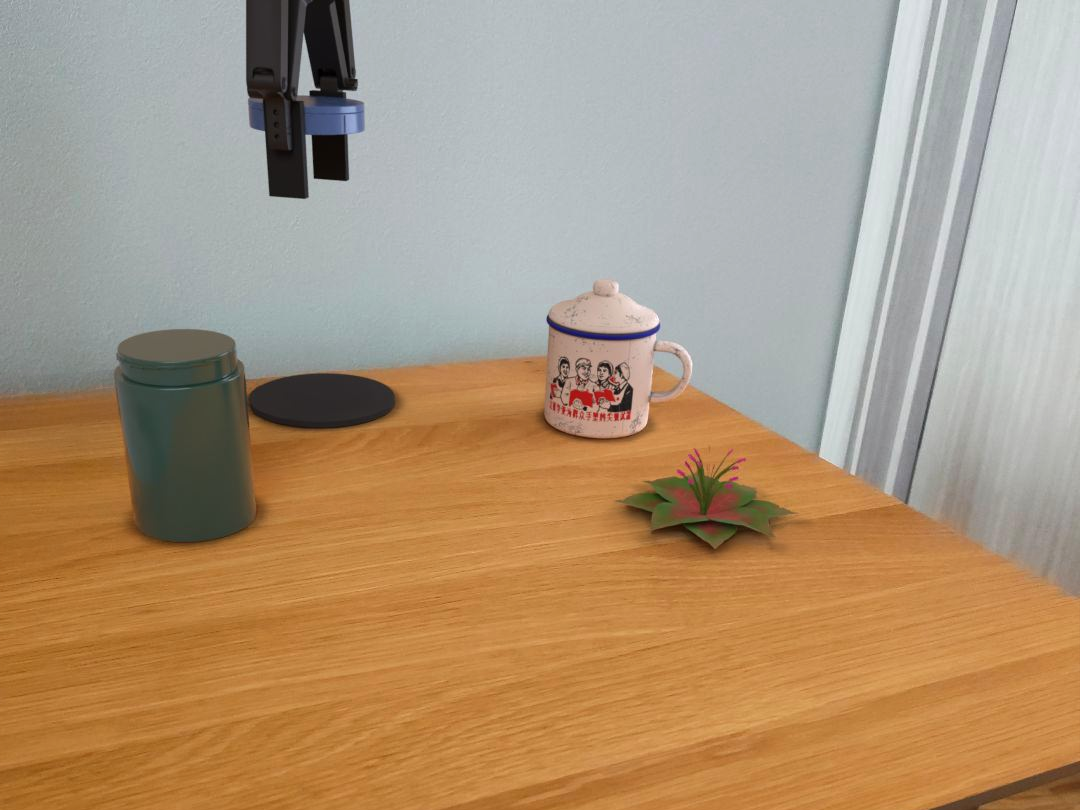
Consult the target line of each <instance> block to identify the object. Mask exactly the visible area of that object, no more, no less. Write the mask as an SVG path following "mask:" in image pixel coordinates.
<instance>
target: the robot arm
mask: <svg viewBox="0 0 1080 810" xmlns="http://www.w3.org/2000/svg"><path fill="white" fill-rule="evenodd" d="M352 26H353V25H352V15H351V5H350V0H245V83H246V91H247V96H248V98H255V99H263V111H264V126H265V131H264V139H265V152H266V153H265V155H266V167H267V169H266V170H267V181H268V183H267V184H268V196H269V197H273V198H274V197H275V198H284V199H285V198H288V199H298V200H299V199H300V200H306V199H309V198H310V197H309V194H310V193H309V176H308V173H309V172H308V155H307V135H305V115H304V101H297V100H296V99H297V95H299V94H298V93H299V92H298V91H299V84H300V83H299V82H300V72H301V65H302V64H301V63H302V53H303V43H304V41H305V45H306V51H307V56H308V60H309V66H310V71H311V76H312V80H313V81H312V82H313V85H314V88H315V89H311V90H309V91H308V93H309V95H308V96H325V97H337V98H346V99H347V91H349V92H356V91H358V87H359V80H358V79H359V78H356V76H357V70H356V61H355V51H354V49H355V48H354V36H353V28H352ZM310 136H311V152H312V153H311V155H312V174H313V180H324V181H325V180H326V181H337V182H338V181H339V182H348V181H350V161H349V134H344V135H310Z"/></svg>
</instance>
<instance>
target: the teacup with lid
mask: <svg viewBox="0 0 1080 810" xmlns="http://www.w3.org/2000/svg"><path fill="white" fill-rule="evenodd" d="M592 289H593V290H591V291H586V292H583V293H581V294H579V295H578V296H576V297H574V298H572V299H567V300H562V301H559V302H557V303H556V304H554V305H552V306H551V307H550V309H549V310H548V312H547V315H546V324H547V325H548V334H547V335H548V338H547V355H546V372H545V390H544V391H545V392H544V393H545V395H544V409H543V410H544V412H543V414H544V418H545V420H546V422H547V423H548V424H549V425H550V426H552V427H553V428H554V429H556V430H559V432H560V431H561V432H563V433H566V434H568V435H569V434H570V435H573V436H577V437H582V438H591V439H617V438H618V439H619V438H624V437H628V436H632V435H634V434H637V433H639V432H640V431H642V430H644V428H646V426H647V424H648V420H649V411H650V403H667V402H670V401H673V400H674V399H676V398H677V397H679V396H680V395H681V394H682V393H683V392H684V390H685V389H686V388H687V386H688V385H689V382H690V380H691V377H692V373H693V361H692V358H691V355H690V353H689V352H688V351H687V349H685V347H683V346H682V345H680V344H678V343H675V342H672V341H666V340H657V333H658V332H659V331H660V329H661V323H660V319H659V316H658V314H657V313H656V312H655V310H653V309H651V308H649V307H648V306H645V305H643V304H640V303H637V302H635V300H633V299H632V298H631V297H630V296H628V295H626V294H624V293H621V292H619V289H620V287H619V283H618V282H617V281H616V280H614V279H609V278H599V279H596V280H595V281H594V282H593V286H592ZM656 352H662V353H668V354H672V355H674V356H675V357H677V358H678V359H679V360H680V362H681V363H682V368H683V370H682V371H683V372H682V376H681V378H680V380H679V382H678V383H677V384H676V385H675V386H674V387H672V388H671V389H669V390H665V391H652V382H653V373H654V372H653V371H654V362H655V353H656Z"/></svg>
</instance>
